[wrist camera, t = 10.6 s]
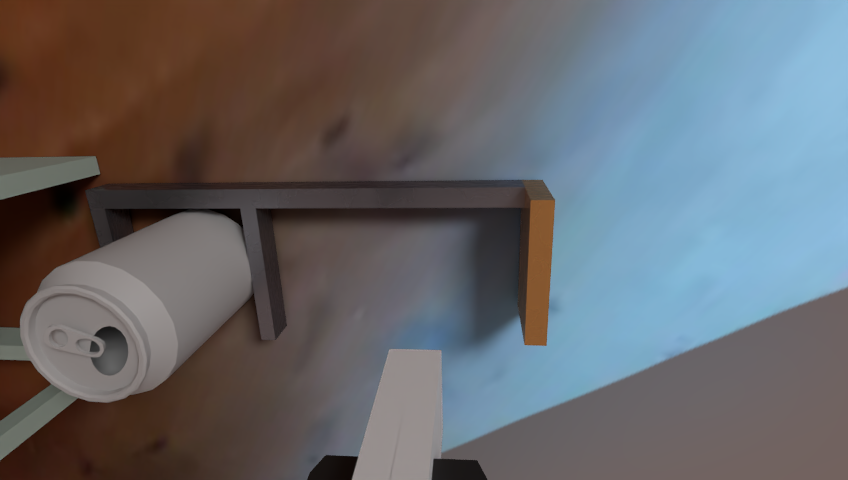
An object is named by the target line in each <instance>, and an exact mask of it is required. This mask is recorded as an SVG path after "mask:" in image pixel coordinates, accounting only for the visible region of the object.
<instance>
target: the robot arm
mask: <svg viewBox="0 0 848 480" xmlns="http://www.w3.org/2000/svg"><path fill="white" fill-rule="evenodd" d="M442 432H443V413H442V364H441V350H410V349H389V353H388V356H387V359H386V363H385V366H384V370H383V373H382V377H381V380H380V384H379V387H378V391H377V394H376V398H375V401H374V405H373V408H372V412H371V415H370V418H369V422H368V425H367V429H366V432H365V436H364V439H363V443H362V446H361V450H360V453H359V457H354V456H331V455H326V456H325V457H324V458H323V459H322V460H321V461H320V462H319V463H318V464H317V465H316V466H315V468H314V469H313V470H312V471H311V472H310V474H309V476H308V479H307V480H487V478H486V476H485V474H484V472H483V471H482V469H481V467H480V465H479V463H478V461H477V460H455V459H441V446H442Z"/></svg>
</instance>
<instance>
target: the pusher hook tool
mask: <svg viewBox="0 0 848 480" xmlns="http://www.w3.org/2000/svg"><path fill="white" fill-rule="evenodd" d="M85 192H86V196H87V199H88V203H89V207H90V211H91V214H92V218H93V222H94V225H95V229H96V233H97V237H98V240H99V244H100V248H101V247H103V246H106V245H108V244H110V243H112V242H115V241H117V240H119V239H121V238H123V237H126V236H128V235H130V234H132V233H134V231H133V227H132V222H131V218H130V214H129V210H128V209H222V208H240V211H241V217H242V223H243V229H244V235H245V242H246V248H247V254H248V260H249V266H250V272H251V279H252V285H253V291H254V297H255V303H256V309H257V316H258V322H259V328H260V334H261V340H276V339H277V338H278V336H279V335H280V334H281V332H282V331H283V330H284V328H285V327H286V326H287V324H286V316H285V309H284V302H283V295H282V288H281V281H280V274H279V267H278V260H277V252H276V245H275V238H274V231H273V224H272V217H271V210H270V208H521V224H520V252H519V279H518V310H519V316H520V322H521V327H522V333H523V339H524V344H525V345H542V346H546V343H547V326H548V309H549V292H550V276H551V259H552V242H553V225H554V208H555V199H554V198H553V196H552V194H551V193H550V191H549V190H548V188H547V187H546V185H545V183H544V182H543V180H469V181H358V182H247V183H136V184H106V185H102V186H99V187H95V188H92V189H88V190H85Z"/></svg>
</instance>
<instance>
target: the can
mask: <svg viewBox="0 0 848 480" xmlns="http://www.w3.org/2000/svg"><path fill="white" fill-rule="evenodd" d="M253 293H254V291H253V285H252V279H251V272H250V266H249V260H248V254H247V248H246V242H245V235H244V230H243V229H242V228H241V226H240V225H239V224H237V223H236V222H234V221H233V220H231V219H230V218H228V217H227V216H225V215H224V214H221V213H217V212H214V211H211V210H208V209H188V210H185V211H183V212H180V213H177V214H174V215H172V216H170V217H168V218H165V219H163V220H161V221H159V222H157V223H154V224H152V225H150V226H148V227H146V228H143V229H141V230H139V231H137V232H134V233H132V234H130V235H128V236H126V237H123V238H121V239H119V240H117V241H115V242H112V243H110V244H108V245H106V246H103V247H101V248H99V249H97V250H95V251H92V252H90V253H88V254H86V255H84V256H81V257H79V258H77V259H75V260H72V261H70V262H68V263H66V264H64V265H61V266H59V267H57V268H55V269H54V270H53V271H52V272H51V273H50V274H49V275H48V276H47V277H46V278H45V279H43V280H42V282H41V284H40V287H39V289H38V292H37V293H36V294H35V295H34V296H33V297H32V298H31V299H30V300H29V301H28V302H26V305H25V307H24V309H23V312H22V314H21V317H20V337H21V340H22V343H23V346H24V349H25V352H26V354H27V356H28V357H29V359H30V360H31V362H32V363H33V365H34V366H35V368H36V369H37V371H38V372H39V373H40V374H41V375H43V376H44V377H45V378H46V379H47V380H48V381H49V382H50V383H51V384H52V385H54V386H55V387H57V388H59V389H60V390H62V391H64V392H65V393H67V394H69V395H71V396H74V397H77V398H80V399H83V400H86V401H90V402H107V403H109V402H113V401H117V400H120V399H124V398H126V397H127V396H129V395H134V394H138V393H142V392H146V391H150V390H153V389H154V388H155V387H157V386H158V385H159V384H161V383H162V382H164V381H165V380H166V379H167V378H168V377H169V376H170V375H172V374H173V373H174V372H175V371H176V370H177V369H178V368H179V367H180V366H181V365H182V364H183V363H184V362H185V361H186V360H187V359H188V358H189V357H190V356H191V355H192V354H193V353H194V352H195V351H196V350H197V349H198V348H199V347H200V346H201V345H202V344H203V343H204V342H206V341H207V340H208V339H209V338H210V337H211V336H212V335H213V334H214V333H215V332H216V331H217V330H218V329H219V328H220V327H221V326H222V325H223V324H224V323H225V322H226V321H227V320H228V319H229V318H230V317H231V316H232V315H233V314H234V313H235V312H236V311H237V310H239V309H240V308H241V307H242V306H243V305H244V304H245V303H246V302H247V301H248V300H249V299H250V298H251V296H252V295H253Z"/></svg>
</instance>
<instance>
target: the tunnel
mask: <svg viewBox="0 0 848 480" xmlns="http://www.w3.org/2000/svg"><path fill="white" fill-rule="evenodd" d="M99 174H100V171H99V167H98V163H97V159H96V156H82V157H20V158H0V200H1V199H5V198H9V197H13V196H17V195H21V194H25V193H29V192H32V191H36V190H40V189H44V188H48V187H52V186H56V185H60V184H64V183H68V182H71V181H75V180H79V179H83V178H87V177H91V176H95V175H99ZM0 359H2V360H29V361H31V360H30V359H29V357H28V356H27V354H26V352H25V349H24V346H23V343H22V340H21V337H20V328H5V327H0ZM76 399H77V397H74V396H71V395H69V394H67V393H65V392H64V391H62V390H60V389H59V388H57V387H55V386H54V385H52V384H51V385H50V386H48V387H47V388H46V389H44V390H43V391H41V392H40V393H39V394H37V395H36V396H35V397H33V398H32V399H30V400H29V401H28V402H26V403H25V404H23V405H22V406H21V407H19V408H18V409H16V410H15V411H14V412H12V413H11V414H10V415H8V416H7V417H5V418H4V419H3V420H1V421H0V460H1V459H3V458H4V457H5V456H6V455H8V454H9V453H10V452H11V451H12V450H14V449H15V448H16V447H17V446H19V445H20V444H21V443H22V442H24V441H25V440H26V439H27V438H29V437H30V436H31V435H32V434H34V433H35V432H36V431H37V430H39V429H40V428H41V427H42V426H44V425H45V424H46V423H47V422H49V421H50V420H51V419H52V418H54V417H55V416H56V415H57V414H59V413H60V412H61V411H62V410H64V409H65V408H66V407H67V406H69V405H70V404H71V403H72V402H74V401H75V400H76Z"/></svg>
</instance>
